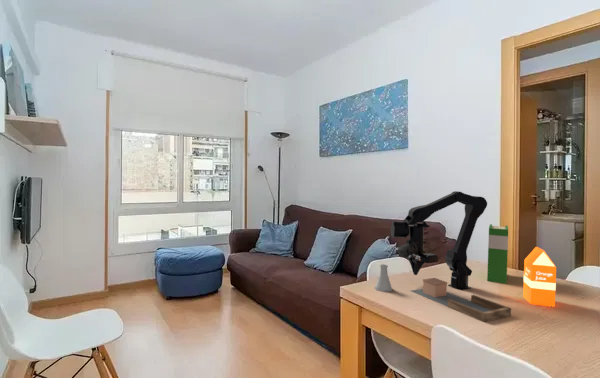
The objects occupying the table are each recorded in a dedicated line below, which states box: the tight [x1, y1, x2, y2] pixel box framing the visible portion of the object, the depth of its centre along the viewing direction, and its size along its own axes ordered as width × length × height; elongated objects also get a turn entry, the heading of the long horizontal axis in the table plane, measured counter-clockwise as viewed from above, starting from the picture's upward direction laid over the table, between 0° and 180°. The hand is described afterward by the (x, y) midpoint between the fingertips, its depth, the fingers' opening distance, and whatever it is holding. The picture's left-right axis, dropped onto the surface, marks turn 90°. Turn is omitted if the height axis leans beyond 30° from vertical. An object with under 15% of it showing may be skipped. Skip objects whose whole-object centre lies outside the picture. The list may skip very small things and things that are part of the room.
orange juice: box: [522, 246, 557, 308], centre depth 124 cm, size 8×9×20 cm
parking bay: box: [447, 294, 512, 323], centre depth 113 cm, size 13×14×2 cm
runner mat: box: [410, 288, 491, 323], centre depth 121 cm, size 13×32×1 cm, turn 25°
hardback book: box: [486, 223, 509, 285], centre depth 155 cm, size 18×7×24 cm, turn 149°
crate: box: [422, 277, 448, 297], centre depth 130 cm, size 6×6×5 cm
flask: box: [374, 263, 393, 293], centre depth 135 cm, size 7×7×10 cm
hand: (415, 274), depth 139 cm, fingers closed
